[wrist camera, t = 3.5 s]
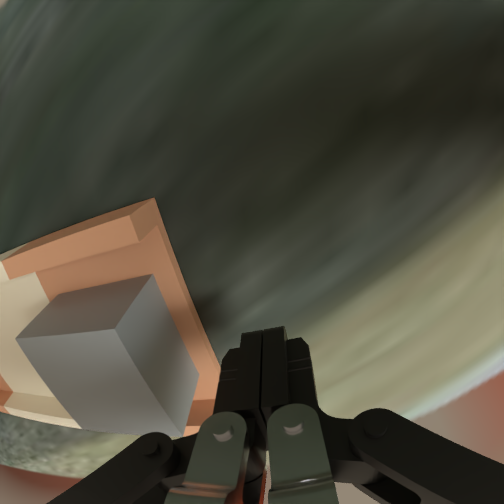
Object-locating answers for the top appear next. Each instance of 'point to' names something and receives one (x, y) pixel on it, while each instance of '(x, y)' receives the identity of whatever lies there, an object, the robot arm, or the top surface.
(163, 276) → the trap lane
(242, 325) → the top surface
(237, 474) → the robot arm
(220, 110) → the top surface
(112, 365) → the slate block
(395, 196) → the top surface
